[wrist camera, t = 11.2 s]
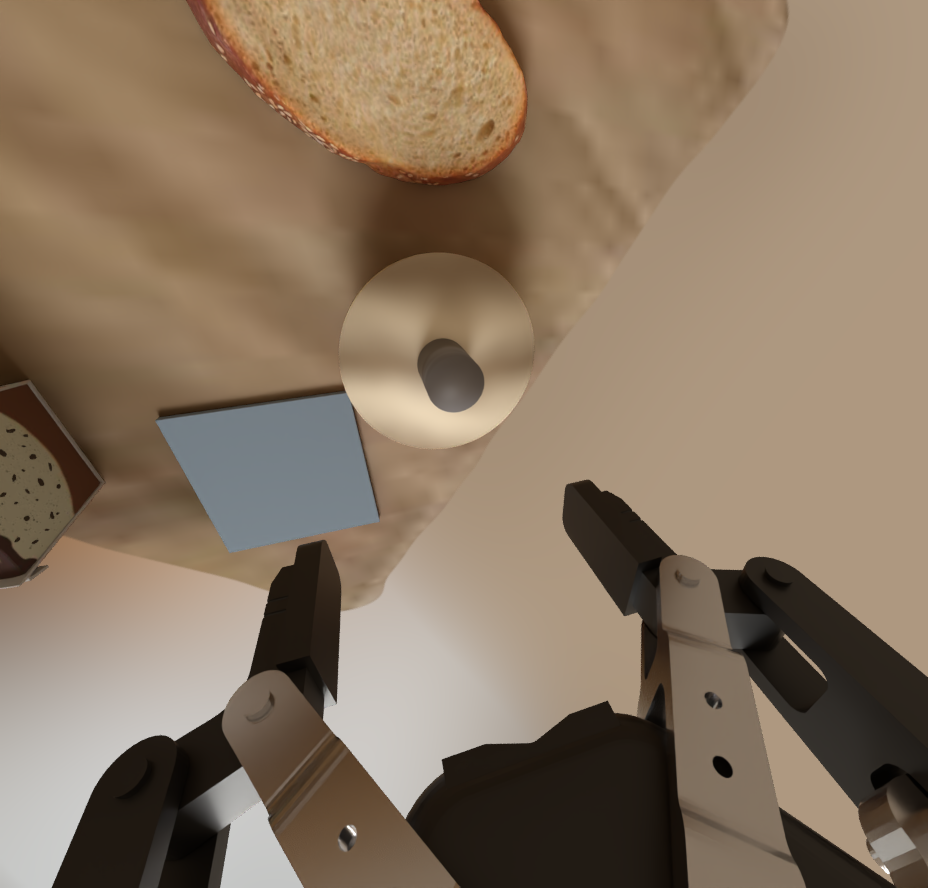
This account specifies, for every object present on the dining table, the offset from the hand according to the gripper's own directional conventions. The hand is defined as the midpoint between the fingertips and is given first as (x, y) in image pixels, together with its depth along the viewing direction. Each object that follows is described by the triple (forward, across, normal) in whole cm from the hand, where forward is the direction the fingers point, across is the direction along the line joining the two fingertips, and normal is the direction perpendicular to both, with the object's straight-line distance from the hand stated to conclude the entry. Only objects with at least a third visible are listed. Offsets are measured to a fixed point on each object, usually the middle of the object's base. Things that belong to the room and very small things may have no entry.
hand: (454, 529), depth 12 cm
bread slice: (+24, -2, -19) cm, 30 cm away
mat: (+23, +12, +11) cm, 28 cm away
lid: (+17, -3, 0) cm, 17 cm away
